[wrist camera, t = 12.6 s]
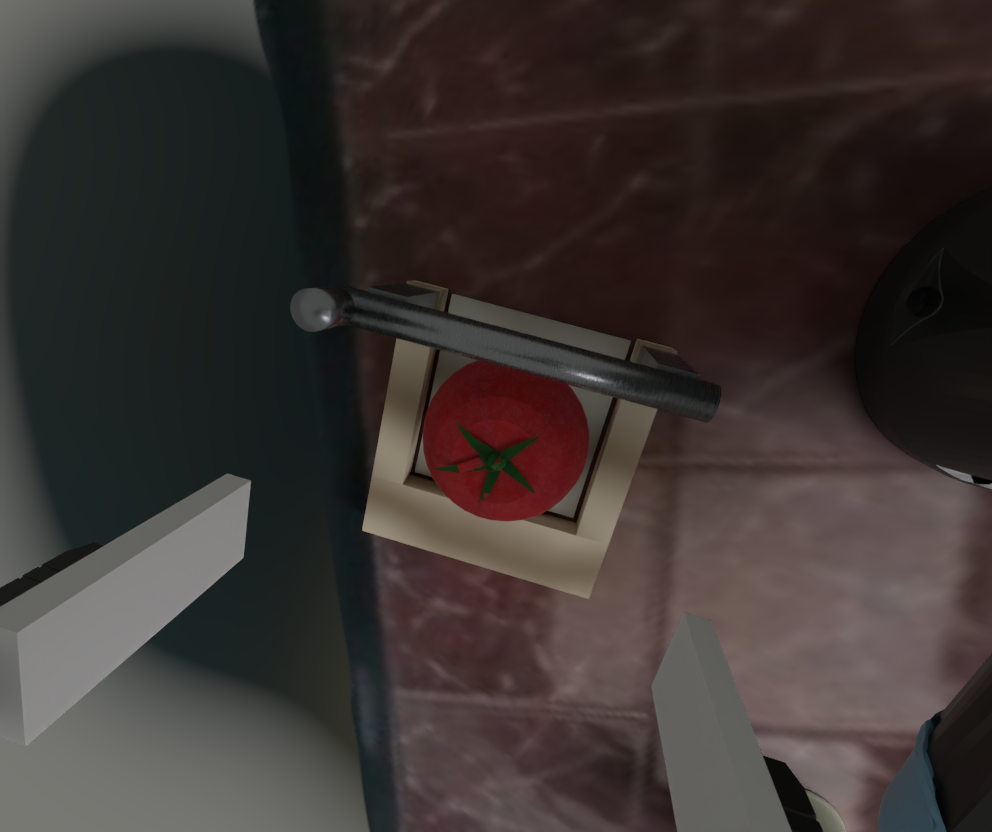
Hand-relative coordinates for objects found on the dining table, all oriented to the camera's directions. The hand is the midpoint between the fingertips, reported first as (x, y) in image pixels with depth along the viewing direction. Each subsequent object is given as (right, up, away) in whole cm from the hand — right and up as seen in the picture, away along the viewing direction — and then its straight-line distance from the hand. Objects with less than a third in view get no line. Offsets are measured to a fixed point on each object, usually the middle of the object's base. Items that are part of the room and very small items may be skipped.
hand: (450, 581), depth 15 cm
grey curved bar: (+3, +9, +13) cm, 16 cm away
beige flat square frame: (+2, +3, +16) cm, 17 cm away
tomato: (+2, +5, +16) cm, 16 cm away
